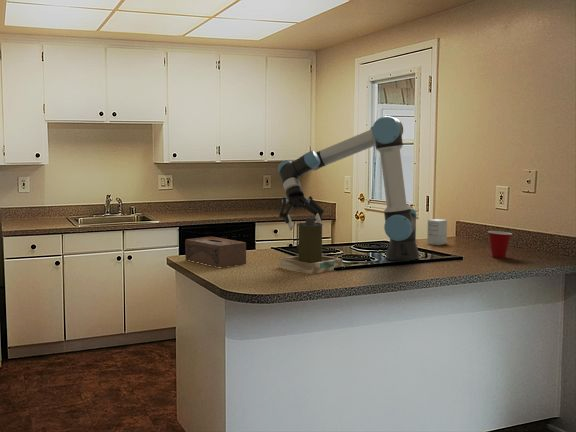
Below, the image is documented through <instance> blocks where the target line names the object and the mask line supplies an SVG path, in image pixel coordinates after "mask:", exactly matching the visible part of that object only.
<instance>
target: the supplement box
mask: <svg viewBox="0 0 576 432" xmlns="http://www.w3.org/2000/svg"><path fill="white" fill-rule="evenodd" d="M426 238H427V244H428V245H435V246H442V245H446V244H448V243H447V242H448V220H447V219H442V218H441V219H440V218H434V219H433V218H432V219H428V220H427V237H426Z"/></svg>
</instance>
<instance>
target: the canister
mask: <svg viewBox="0 0 576 432" xmlns="http://www.w3.org/2000/svg"><path fill="white" fill-rule="evenodd" d="M316 219H317V218H315V217H311V216H310V217H306V218H305V222H298V223H296V249H298V256H299V261H300V262H306V263H316V262H322V255H323V225H324V224H323V223H322V224H321V223H317V222H316Z"/></svg>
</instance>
